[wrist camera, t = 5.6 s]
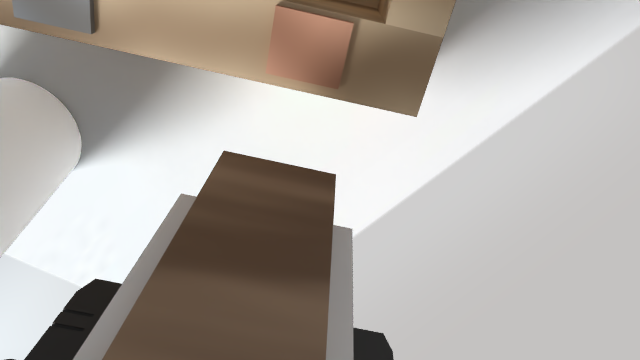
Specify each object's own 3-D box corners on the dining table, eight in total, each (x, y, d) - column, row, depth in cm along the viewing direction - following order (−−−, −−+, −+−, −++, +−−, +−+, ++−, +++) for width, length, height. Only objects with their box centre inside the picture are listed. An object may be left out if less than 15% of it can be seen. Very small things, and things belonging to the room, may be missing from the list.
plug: (223, 150, 15) (-66, 646, 4) (335, 174, 15) (307, 701, 5) (214, 239, 17) (-3, 728, 6) (313, 259, 17) (258, 763, 7)
